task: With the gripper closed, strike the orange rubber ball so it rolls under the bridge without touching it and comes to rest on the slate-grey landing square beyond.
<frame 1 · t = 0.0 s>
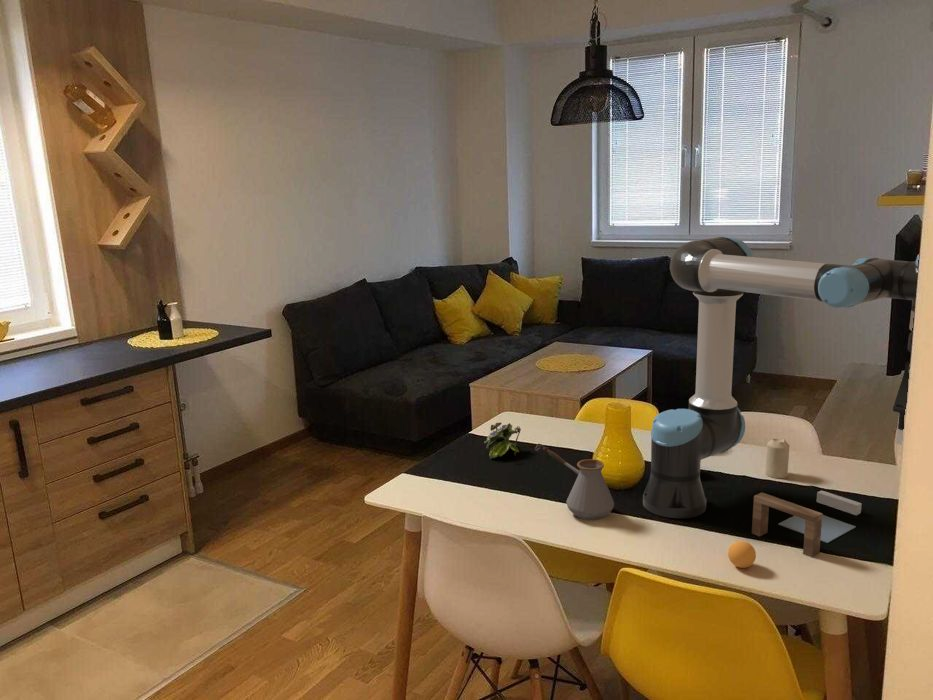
hand: (920, 437, 157), 28 cm above the table, tool pointing down, fingers open, 13 cm apart
green leafy plant: (504, 454, 233), on the table
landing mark: (816, 525, 182), on the table
candle: (776, 475, 211), on the table
ball: (741, 554, 165), on the table
bridge: (784, 542, 174), on the table
coffee pot: (572, 509, 195), on the table
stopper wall: (838, 507, 191), on the table
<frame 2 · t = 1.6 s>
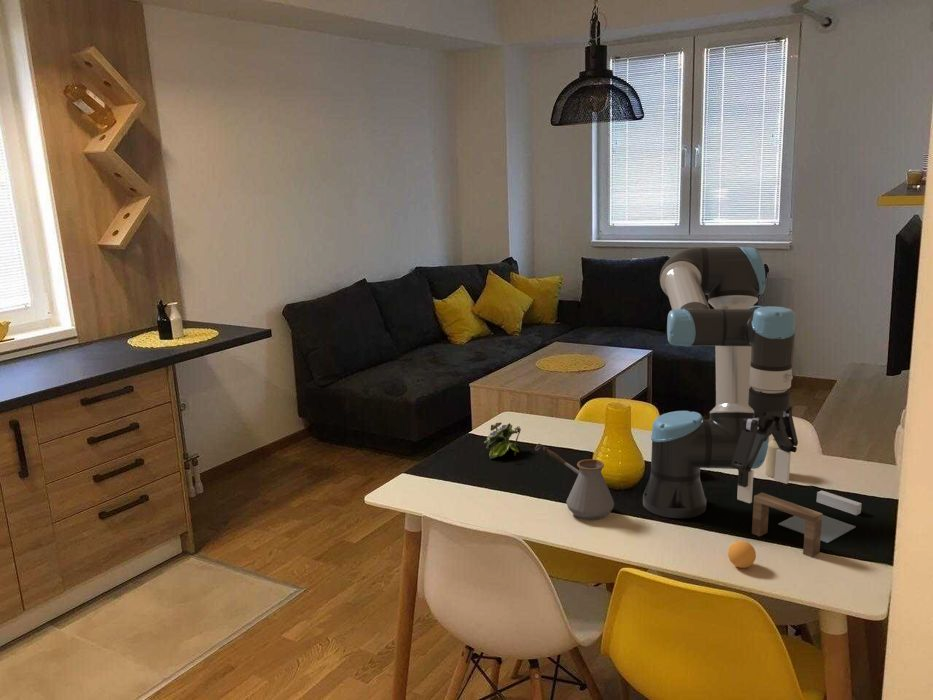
hand: (763, 491, 156), 19 cm above the table, tool pointing down, fingers open, 13 cm apart
nothing on the table moved.
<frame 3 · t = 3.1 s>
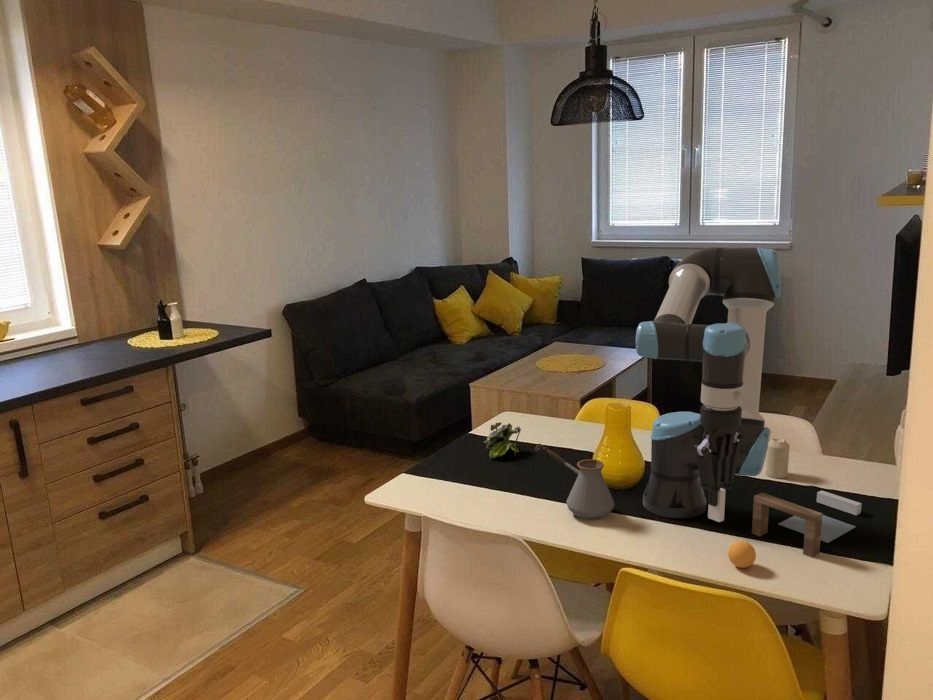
hand: (715, 518, 156), 14 cm above the table, tool pointing down, fingers closed
nothing on the table moved.
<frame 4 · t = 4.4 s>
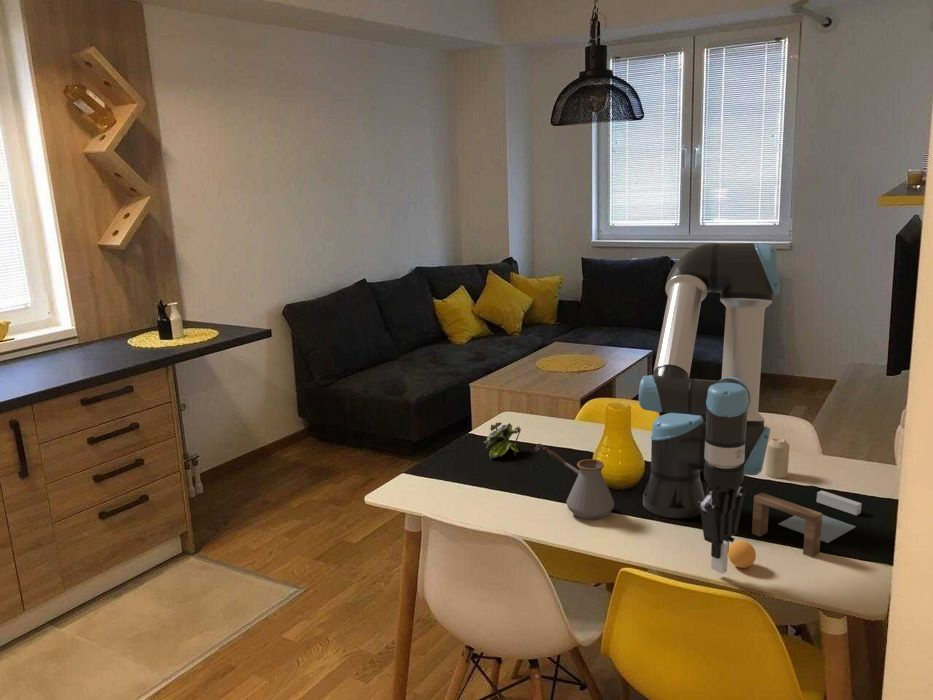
hand: (719, 569, 161), 2 cm above the table, tool pointing down, fingers closed
nothing on the table moved.
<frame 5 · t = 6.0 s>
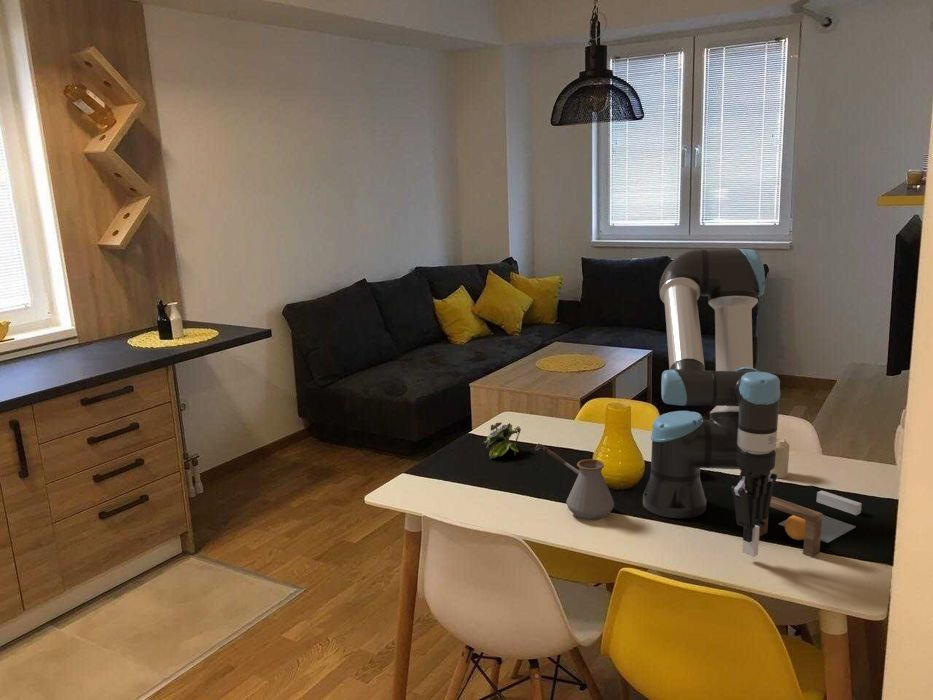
hand: (750, 553, 166), 2 cm above the table, tool pointing down, fingers closed
ball: (798, 527, 176), on the table
everything else where it was.
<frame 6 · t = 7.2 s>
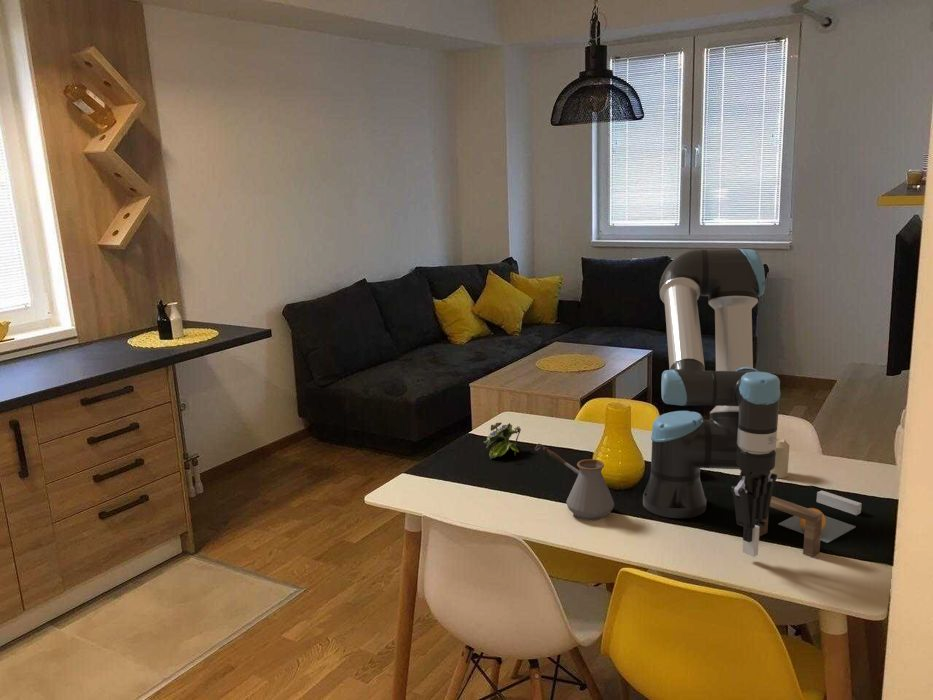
hand: (750, 553, 166), 2 cm above the table, tool pointing down, fingers closed
ball: (812, 520, 179), on the table
everything else where it was.
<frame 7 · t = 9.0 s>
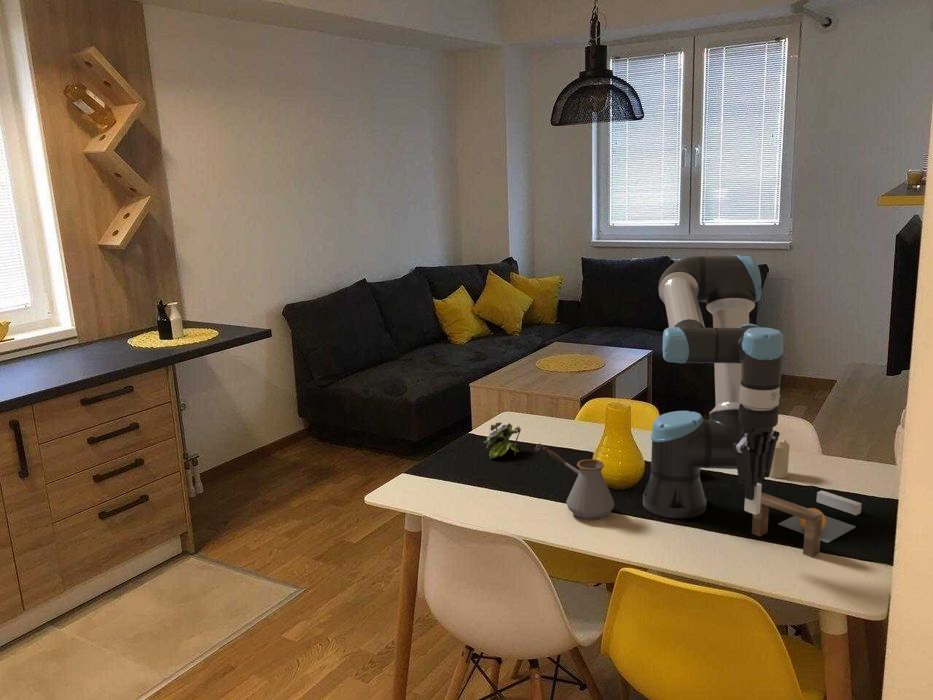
hand: (752, 511, 165), 11 cm above the table, tool pointing down, fingers closed
nothing on the table moved.
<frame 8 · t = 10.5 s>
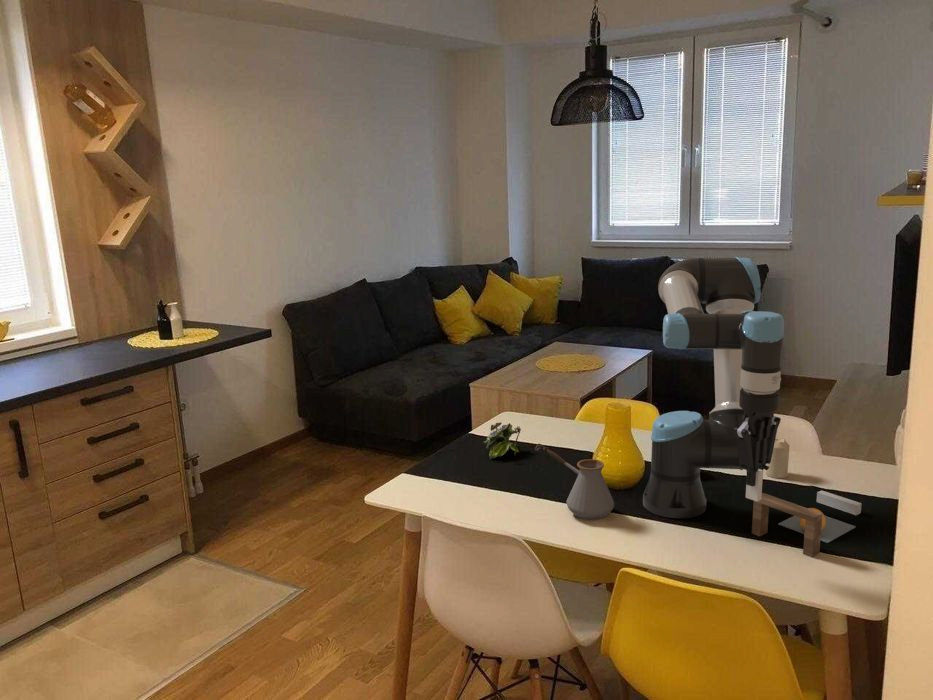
hand: (753, 498, 164), 14 cm above the table, tool pointing down, fingers closed
nothing on the table moved.
at the end: ball 3.6 cm from the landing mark (horizontally); ball never touched bridge; ball at rest at the end (0.0 cm/s) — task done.
